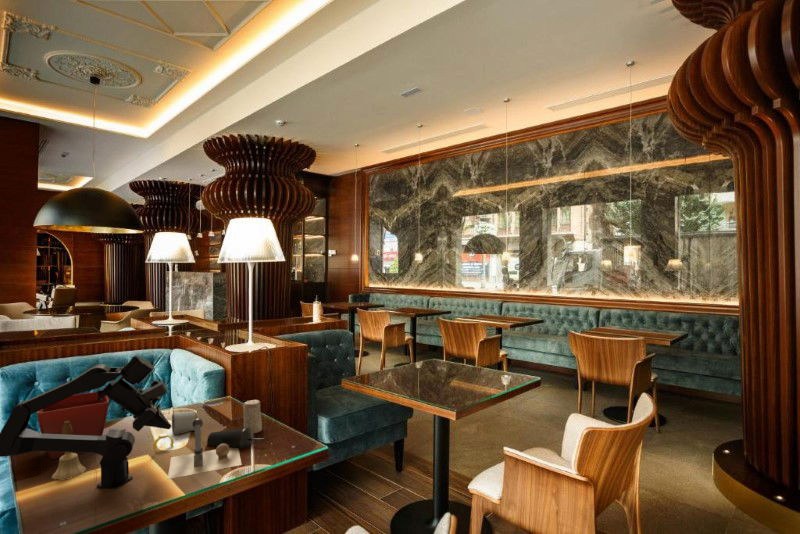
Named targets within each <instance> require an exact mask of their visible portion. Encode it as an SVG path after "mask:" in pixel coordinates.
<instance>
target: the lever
mask: <svg viewBox="0 0 800 534" xmlns="http://www.w3.org/2000/svg"><path fill="white" fill-rule="evenodd" d="M203 424H204V421H203V419H201V418H200V417H199V418H198V417H197V419H195V420H194V421H193V423H192V426H193V427H194V428H195V430H194V445H195V446H194V448H195V454H200V453H201V447H202V435H201V434H202V429H201V428H202V427H203V426H204V425H203Z"/></svg>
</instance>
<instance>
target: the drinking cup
mask: <svg viewBox="0 0 800 534" xmlns="http://www.w3.org/2000/svg"><path fill="white" fill-rule="evenodd" d="M257 441H258V442H259V441H261V442H262V441H263V442H264V441H265V438H254V433H253V432H252V430H251V429H250V428H245V429H244V428H240V429H239V428H238V429H231V430H220V431H213V432H210V433H209V434H208V436H207V441H206V443H207V445H208V446H213V447H218V446H219V445H220V444H223V443H224V444H227V445H228V446H229V447H230V448H238V449H239V450H244V449H247V448H248V447H250V446H251V445H252V444H253V442H257Z"/></svg>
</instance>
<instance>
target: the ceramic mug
mask: <svg viewBox="0 0 800 534" xmlns="http://www.w3.org/2000/svg"><path fill="white" fill-rule="evenodd" d="M195 419H198V414H197V412H196V411H193V410H192V411H191V410H190V411H182V412H173V413H172V415H171V431H172V435H173V436H175V435H178V434H179V435H180V434H184V433H185V434H186V433H188V432H192V431H195V428H194V427H193V426H192V423H193V421H194V420H195Z"/></svg>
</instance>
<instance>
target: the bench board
mask: <svg viewBox="0 0 800 534" xmlns="http://www.w3.org/2000/svg"><path fill="white" fill-rule="evenodd" d="M240 455H241V454H240V449H238V448H230V447H229V453H228V454H227V459H223V460H218V455H217V454H216V449H211V450H205V451H203V445H201V453H200V454H195V447H194V448H193V453H189V454H182V455H177V456H171V457H170V463H169V467H168V468H169V470H168V472H167V480H171V479H177V478H181V477H186V476H192V475H197V474H202V473H206V472H207V473H208V472H212V471H213V472H214V471H217V470H222V469H228V468H233V467H238V466H242V459H241V456H240Z"/></svg>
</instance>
